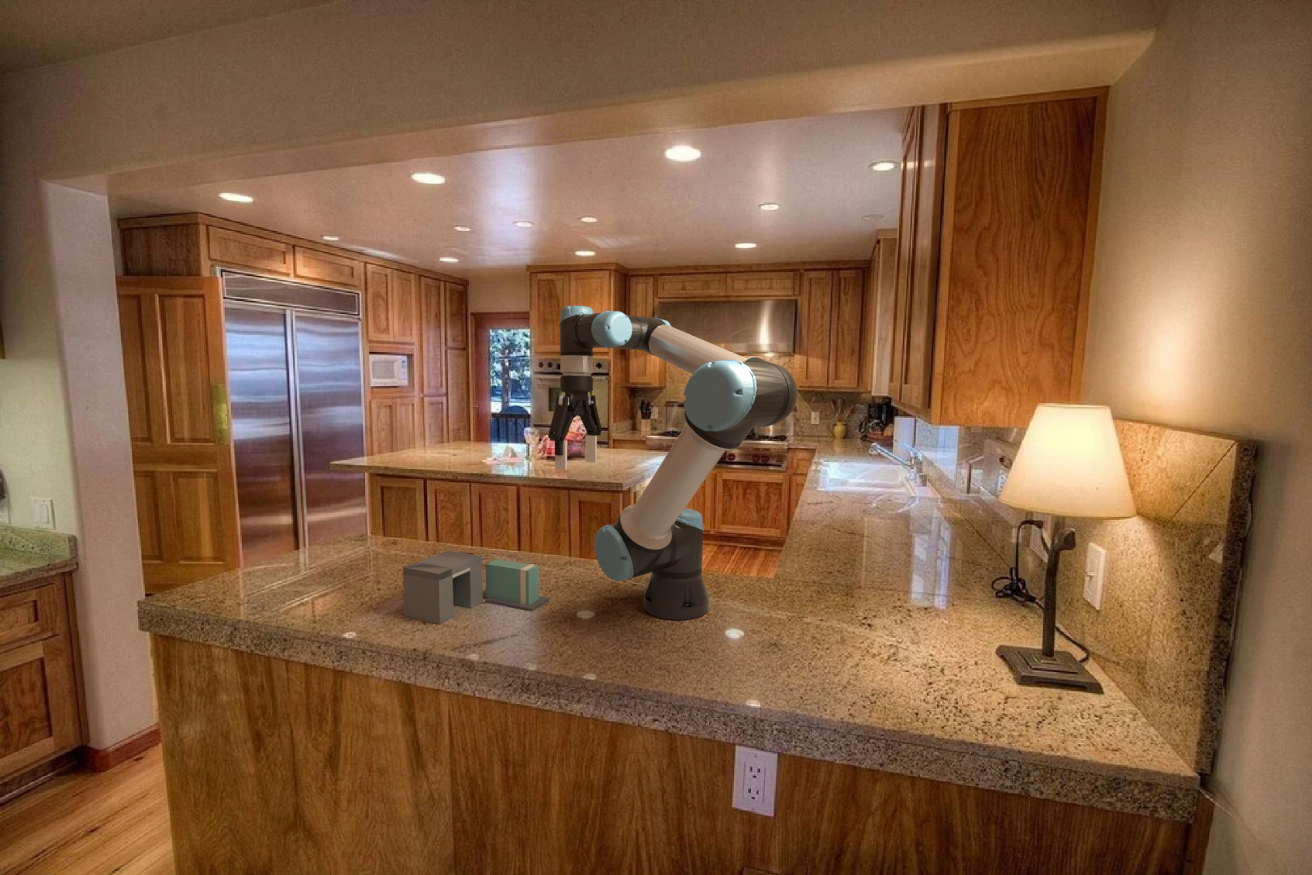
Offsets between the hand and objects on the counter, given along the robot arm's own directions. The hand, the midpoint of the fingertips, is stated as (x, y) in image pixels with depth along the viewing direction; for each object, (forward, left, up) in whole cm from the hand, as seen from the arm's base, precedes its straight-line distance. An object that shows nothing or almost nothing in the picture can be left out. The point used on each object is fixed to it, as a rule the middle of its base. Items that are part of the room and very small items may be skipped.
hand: (576, 465), depth 134 cm
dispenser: (+23, +19, -32) cm, 44 cm away
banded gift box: (+12, +9, -31) cm, 35 cm away
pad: (+11, +9, -32) cm, 35 cm away
